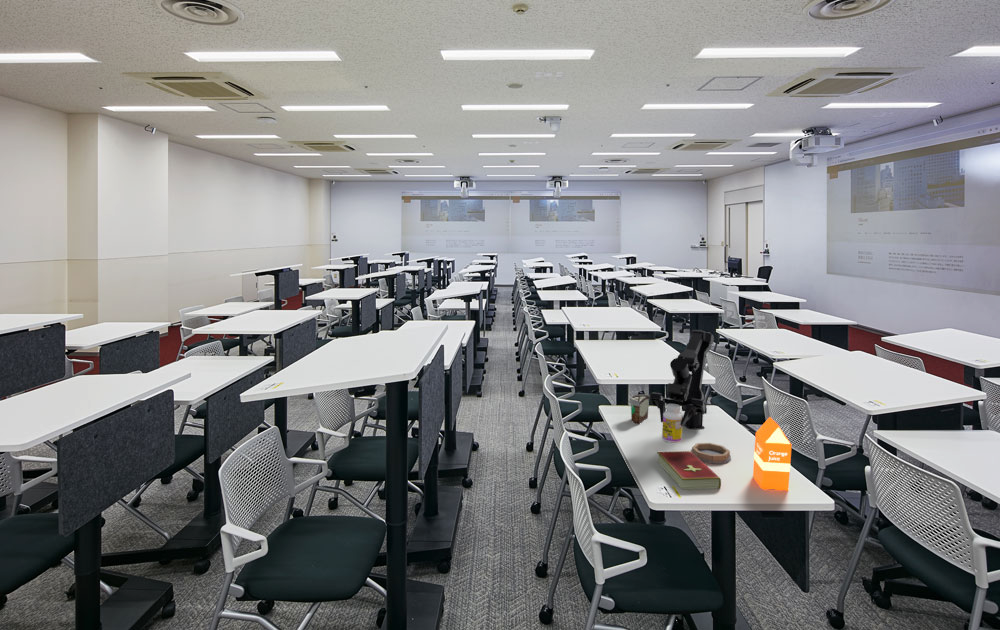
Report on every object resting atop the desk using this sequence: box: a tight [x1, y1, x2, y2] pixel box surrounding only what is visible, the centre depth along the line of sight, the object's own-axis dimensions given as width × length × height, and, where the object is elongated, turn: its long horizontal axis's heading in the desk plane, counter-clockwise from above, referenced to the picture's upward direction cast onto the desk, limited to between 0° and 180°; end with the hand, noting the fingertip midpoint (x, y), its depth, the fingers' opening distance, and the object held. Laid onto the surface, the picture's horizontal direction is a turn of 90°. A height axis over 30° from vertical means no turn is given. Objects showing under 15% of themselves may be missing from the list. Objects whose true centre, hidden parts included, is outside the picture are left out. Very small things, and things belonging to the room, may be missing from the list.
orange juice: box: [752, 416, 793, 492], centre depth 163 cm, size 8×9×20 cm
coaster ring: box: [690, 442, 732, 465], centre depth 185 cm, size 13×13×3 cm
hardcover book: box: [656, 450, 722, 490], centre depth 171 cm, size 12×21×4 cm, turn 4°
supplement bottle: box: [661, 403, 684, 444], centre depth 187 cm, size 7×7×13 cm
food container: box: [629, 393, 650, 425], centre depth 223 cm, size 12×6×10 cm, turn 145°
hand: (671, 423), depth 186 cm, fingers closed on supplement bottle, 7 cm apart
